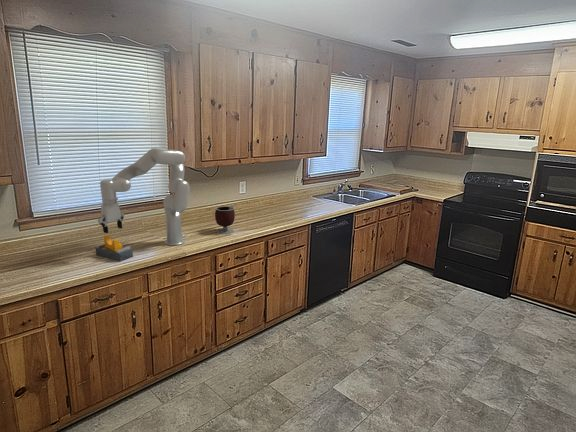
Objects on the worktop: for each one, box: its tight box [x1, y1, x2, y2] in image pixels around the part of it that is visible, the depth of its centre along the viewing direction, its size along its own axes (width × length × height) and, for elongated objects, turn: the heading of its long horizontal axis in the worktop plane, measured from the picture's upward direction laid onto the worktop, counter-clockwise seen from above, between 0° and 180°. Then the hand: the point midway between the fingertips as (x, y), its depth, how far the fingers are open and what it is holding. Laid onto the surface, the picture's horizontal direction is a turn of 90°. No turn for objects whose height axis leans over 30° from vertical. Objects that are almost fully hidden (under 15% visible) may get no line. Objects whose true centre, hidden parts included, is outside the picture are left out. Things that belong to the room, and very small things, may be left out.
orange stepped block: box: [103, 234, 123, 251], centre depth 227 cm, size 12×4×6 cm, turn 51°
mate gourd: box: [214, 203, 237, 235], centre depth 279 cm, size 16×14×20 cm
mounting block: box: [94, 242, 134, 263], centre depth 228 cm, size 9×20×6 cm, turn 64°
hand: (113, 230), depth 225 cm, fingers open, 9 cm apart
